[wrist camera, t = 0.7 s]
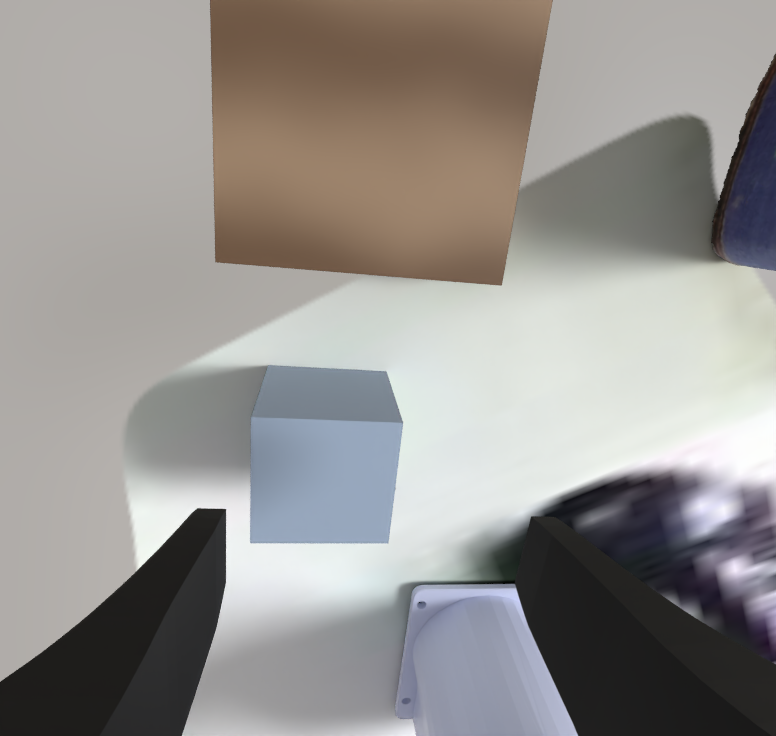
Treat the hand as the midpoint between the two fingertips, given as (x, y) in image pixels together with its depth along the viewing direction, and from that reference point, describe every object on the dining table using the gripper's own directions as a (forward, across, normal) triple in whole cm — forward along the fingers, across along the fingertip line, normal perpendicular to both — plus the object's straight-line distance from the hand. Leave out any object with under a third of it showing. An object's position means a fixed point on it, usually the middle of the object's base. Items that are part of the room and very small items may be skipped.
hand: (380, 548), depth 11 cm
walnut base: (+10, 0, -11) cm, 15 cm away
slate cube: (+10, +1, +2) cm, 11 cm away
